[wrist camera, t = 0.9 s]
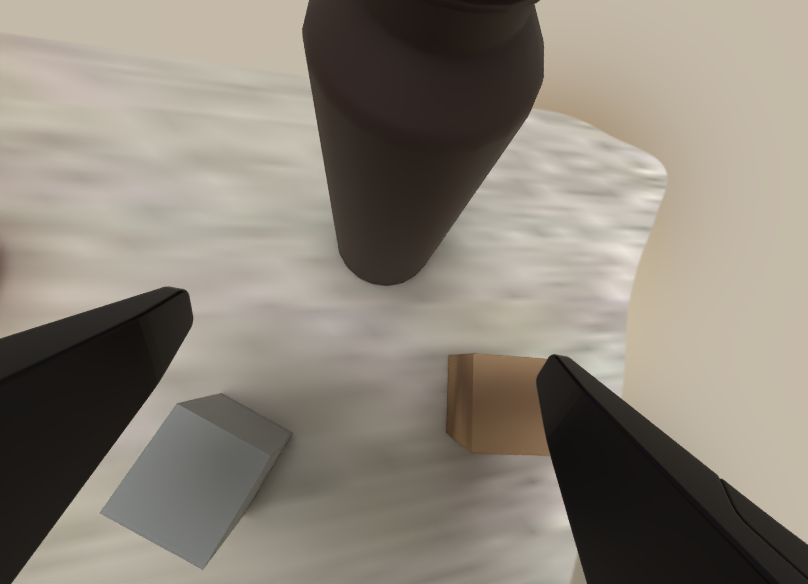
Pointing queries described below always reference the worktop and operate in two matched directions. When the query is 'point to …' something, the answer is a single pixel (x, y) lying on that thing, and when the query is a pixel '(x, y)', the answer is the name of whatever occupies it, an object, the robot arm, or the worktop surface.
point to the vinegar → (414, 115)
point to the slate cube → (197, 476)
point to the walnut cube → (495, 404)
